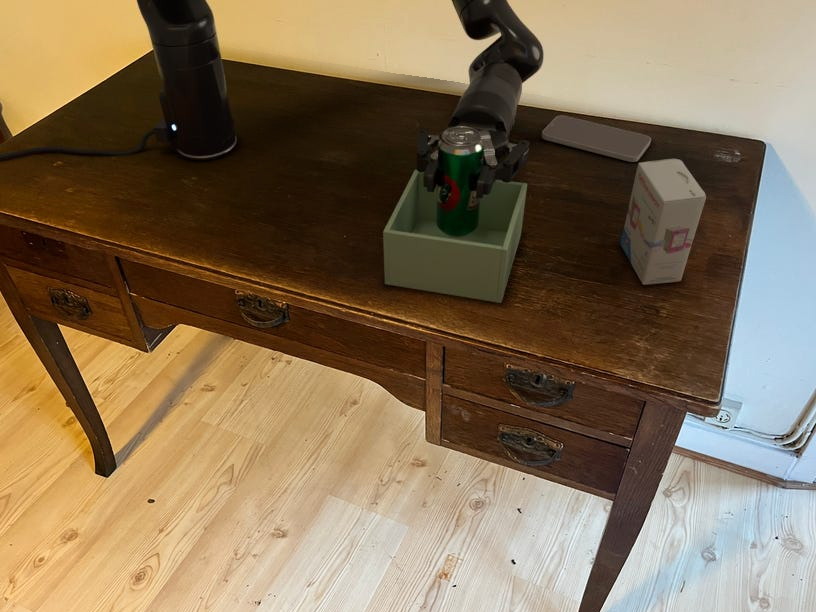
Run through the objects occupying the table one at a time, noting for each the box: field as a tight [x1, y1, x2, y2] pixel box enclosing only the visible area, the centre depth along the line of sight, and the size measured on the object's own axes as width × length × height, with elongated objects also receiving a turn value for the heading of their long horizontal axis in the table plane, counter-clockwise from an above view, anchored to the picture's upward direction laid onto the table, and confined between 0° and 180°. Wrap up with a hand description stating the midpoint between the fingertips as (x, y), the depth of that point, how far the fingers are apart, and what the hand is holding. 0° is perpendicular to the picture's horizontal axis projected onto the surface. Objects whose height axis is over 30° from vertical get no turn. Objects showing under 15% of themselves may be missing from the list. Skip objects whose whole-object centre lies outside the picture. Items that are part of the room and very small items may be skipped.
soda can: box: [436, 126, 484, 237], centre depth 84 cm, size 5×5×12 cm
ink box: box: [619, 158, 707, 286], centre depth 85 cm, size 9×5×12 cm, turn 5°
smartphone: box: [541, 115, 652, 163], centre depth 111 cm, size 7×1×15 cm
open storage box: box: [382, 169, 528, 304], centre depth 89 cm, size 14×14×8 cm
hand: (454, 187), depth 82 cm, fingers closed on soda can, 5 cm apart
